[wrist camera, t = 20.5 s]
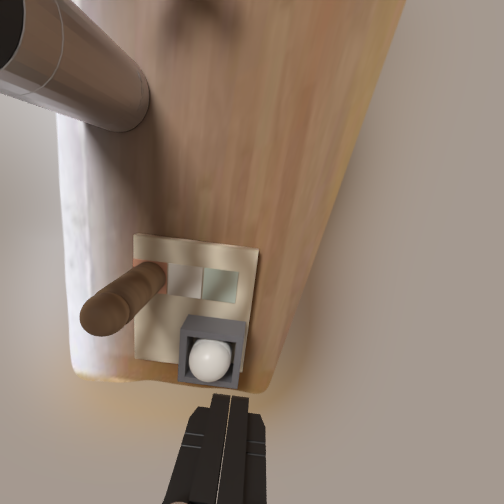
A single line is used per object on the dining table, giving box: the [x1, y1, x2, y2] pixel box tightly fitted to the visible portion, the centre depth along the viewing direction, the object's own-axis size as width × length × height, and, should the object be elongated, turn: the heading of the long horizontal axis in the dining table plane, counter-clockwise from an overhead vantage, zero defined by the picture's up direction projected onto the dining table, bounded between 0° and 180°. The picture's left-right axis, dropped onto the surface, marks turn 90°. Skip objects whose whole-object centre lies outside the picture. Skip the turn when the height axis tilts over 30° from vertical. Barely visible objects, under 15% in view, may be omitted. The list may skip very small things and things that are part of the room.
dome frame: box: [178, 314, 246, 389], centre depth 37 cm, size 9×9×4 cm
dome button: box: [189, 338, 232, 382], centre depth 36 cm, size 6×6×6 cm
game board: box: [133, 233, 259, 372], centre depth 38 cm, size 18×21×2 cm
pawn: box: [80, 262, 166, 337], centre depth 30 cm, size 5×5×13 cm
